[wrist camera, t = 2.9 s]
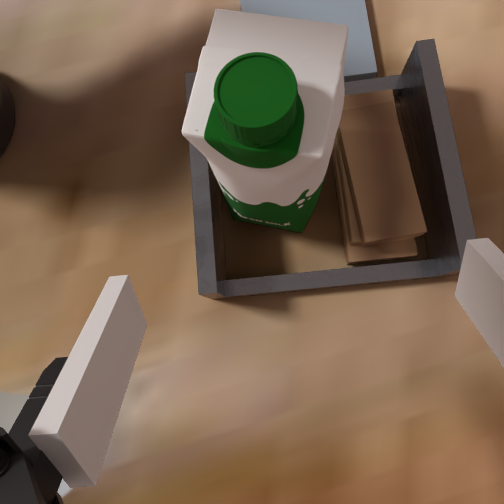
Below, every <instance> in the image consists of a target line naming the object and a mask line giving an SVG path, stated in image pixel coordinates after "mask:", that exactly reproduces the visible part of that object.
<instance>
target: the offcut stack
mask: <svg viewBox="0 0 504 504" xmlns="http://www.w3.org/2000/svg"><path fill="white" fill-rule="evenodd" d="M331 156H332V163H333V170H334V177H335V184H336V191H337V198H338V205H339V212H340V219H341V226H342V233H343V240H344V247H345V254H346V261H347V265H350V264H360V263H369V262H379V261H389V260H399V259H408V258H413V257H415V256H417V255H418V253H417V248H416V242H415V237H417V236H421V235H423V234H424V233H426V232H427V228H426V225H425V221H424V217H423V213H422V210H421V206H420V202H419V198H418V194H417V191H416V187H415V183H414V179H413V175H412V172H411V168H410V164H409V160H408V156H407V153H406V149H405V145H404V141H403V137H402V134H401V130H400V126H399V122H398V118H397V113H396V107H395V102H394V96H393V91H392V89H389V90H382V91H374V92H367V93H359V94H351V95H344V104H343V110H342V115H341V119H340V123H339V127H338V129H337V132H336V136H335V141H334V145H333V149H332V153H331Z"/></svg>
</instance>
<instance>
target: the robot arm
mask: <svg viewBox="0 0 504 504" xmlns="http://www.w3.org/2000/svg"><path fill="white" fill-rule="evenodd" d="M14 118H15V111H14V104H13V100H12V97H11V94H10V92H9V90H8V88H7V87H6V85H5V84H4V83H3V81H2V80H1V79H0V156H1V155H2V153H3V151H4V150H5V148H6V146H7V144H8V142H9V140H10V137H11V134H12V131H13V126H14ZM455 297H456V299H457V300H458V302H459V303H460V305H461V306H462V308H463V309H464V311H465V312H466V313H467V315H468V316H469V318H470V319H471V321H472V322H473V324H474V325H475V327H476V328H477V329H478V331H479V332H480V334H481V335H482V337H483V338H484V340H485V341H486V343H487V344H488V345H489V347H490V348H491V350H492V351H493V353H494V354H495V356H496V357H497V359H498V360H499V362H500V363H501V364H502V366H503V367H504V253H503V252H502V251H501V250H500V249H499V248H498V247H497V246H496V245H495V244H494V243H493V242H492V241H491V240H490V239H489V238H481V239H472V240H467V242H466V247H465V251H464V256H463V260H462V264H461V269H460V273H459V278H458V282H457V287H456V291H455ZM146 327H147V323H146V320H145V318H144V315H143V312H142V310H141V307H140V305H139V302H138V299H137V297H136V294H135V292H134V289H133V286H132V284H131V281H130V278H129V276H128V275H121V276H111V277H109V279H108V281H107V283H106V285H105V286H104V288H103V290H102V292H101V294H100V296H99V298H98V300H97V302H96V304H95V306H94V308H93V310H92V312H91V314H90V316H89V318H88V320H87V322H86V324H85V326H84V328H83V329H82V331H81V333H80V335H79V337H78V339H77V341H76V343H75V345H74V347H73V349H72V351H71V353H70V355H69V357H62V358H56V359H55V360H54V361H53V362H52V363H51V364H50V365H49V366H48V367H47V368H46V369H45V370H44V371H43V373H42V374H41V376H40V378H39V380H38V382H37V383H36V387H35V388H34V389H33V391H32V392H31V394H30V396H29V399H28V400H27V401H26V403H25V405H24V407H23V409H22V410H21V412H20V414H19V416H18V417H17V419H16V421H15V423H14V424H13V426H12V428H11V430H10V432H9V433H7V432H6V431H5V430H4V429H3V428H1V427H0V504H63V501H62V498H61V496H60V495H59V494H58V492H57V491H58V488H59V486H60V483H61V480H62V478H63V479H64V481H65V482H66V483H67V484H68V486H69V487H70V488H73V487H89V486H96V482H97V479H98V476H99V473H100V470H101V467H102V464H103V461H104V457H105V454H106V451H107V448H108V445H109V442H110V439H111V436H112V433H113V429H114V426H115V423H116V420H117V417H118V414H119V411H120V408H121V404H122V401H123V398H124V395H125V392H126V389H127V386H128V383H129V380H130V376H131V373H132V370H133V367H134V364H135V361H136V358H137V355H138V352H139V348H140V345H141V342H142V339H143V336H144V333H145V330H146Z"/></svg>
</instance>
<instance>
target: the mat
mask: <svg viewBox="0 0 504 504" xmlns="http://www.w3.org/2000/svg"><path fill="white" fill-rule="evenodd" d="M240 3H241V12H248V13H256V14H264V15H272V16H280V17H288V18H295V19H303V20H311V21H319V22H327V23H335V24H343V25H348V26H349V28H348V38H347V46H346V54H345V62H344V71H343V76H344V82H350V81H357V80H365V79H372V78H375V77H376V74H377V67H376V61H375V55H374V50H373V44H372V38H371V33H370V27H369V21H368V16H367V10H366V4H365V0H240Z"/></svg>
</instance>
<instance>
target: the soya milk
mask: <svg viewBox="0 0 504 504" xmlns="http://www.w3.org/2000/svg"><path fill="white" fill-rule="evenodd" d="M348 28H349V26H348V25H343V24H335V23H327V22H319V21H311V20H303V19H295V18H288V17H280V16H272V15H264V14H256V13H248V12H240V11H232V10H225V9H216V10H215V13H214V17H213V20H212V24H211V28H210V31H209V35H208V39H207V42H206V46H203V48H202V51H201V55H200V59H199V63H198V69H197V73H196V77H195V81H194V85H193V88H192V92H191V96H190V100H189V104H188V108H187V111H186V115H185V119H184V123H183V127H182V135H183V136H184V137H185V138H186V139H187V140H188V141H189V142H190V143H192V144H193V145H194V146H195V147H196V148H197V149H198V150H199V151H200V152H201V153H202V154H203V155H204V156H205V157H206V158H207V160H208V162H209V164H210V166H211V168H212V171H213V173H214V175H215V177H216V179H217V181H218V183H219V186H220V188H221V190H222V193H223V195H224V198H225V200H226V203H227V205H228V208H229V210H230V213H231V216H232V218H233V220H238V221H243V222H248V223H253V224H259V225H264V226H269V227H274V228H279V229H284V230H289V231H294V232H299V233H302V232H303V230H304V228H305V226H306V224H307V222H308V220H309V218H310V216H311V214H312V213H313V211H314V209H315V206H316V204H317V201H318V198H319V195H320V192H321V189H322V186H323V182H324V178H325V175H326V171H327V167H328V164H329V160H330V156H331V153H332V149H333V145H334V141H335V136H336V132H337V129H338V127H339V123H340V119H341V115H342V110H343V104H344V95H345V87H344V76H343V71H344V62H345V54H346V46H347V38H348Z"/></svg>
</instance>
